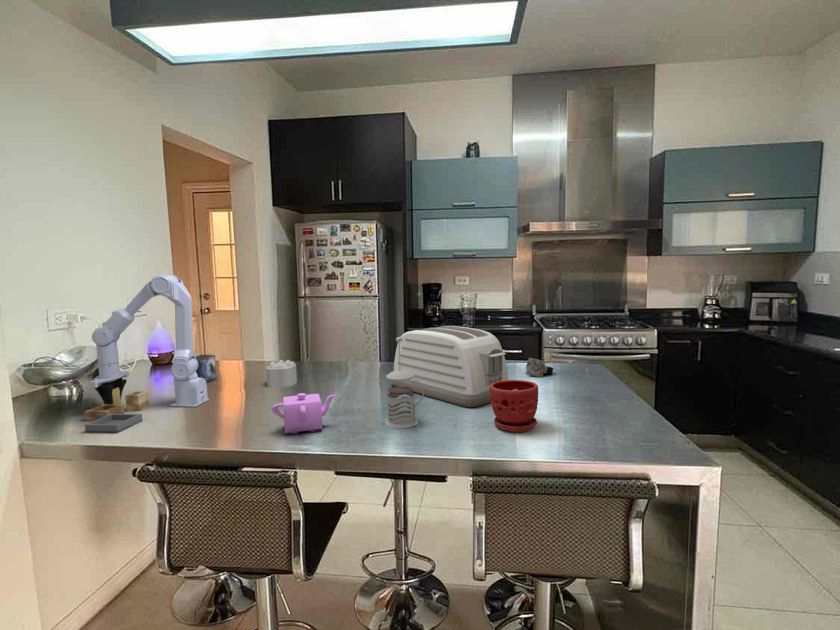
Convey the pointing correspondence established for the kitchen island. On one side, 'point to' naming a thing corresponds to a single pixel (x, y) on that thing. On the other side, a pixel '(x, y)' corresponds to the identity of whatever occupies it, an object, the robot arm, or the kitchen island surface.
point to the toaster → (452, 363)
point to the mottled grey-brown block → (537, 368)
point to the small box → (206, 367)
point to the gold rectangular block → (116, 396)
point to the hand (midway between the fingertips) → (112, 403)
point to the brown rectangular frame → (103, 411)
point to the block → (137, 401)
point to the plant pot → (514, 404)
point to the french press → (401, 399)
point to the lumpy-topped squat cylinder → (281, 374)
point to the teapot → (302, 412)
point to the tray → (113, 423)
